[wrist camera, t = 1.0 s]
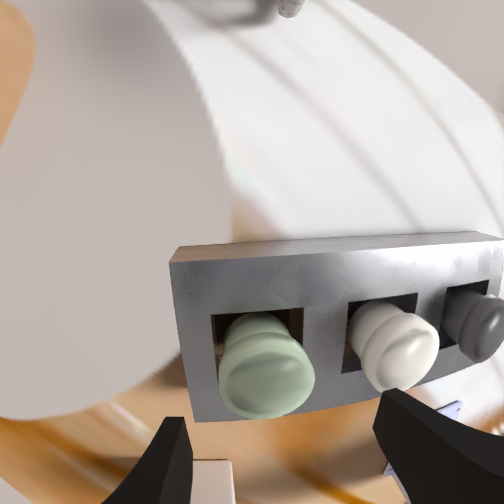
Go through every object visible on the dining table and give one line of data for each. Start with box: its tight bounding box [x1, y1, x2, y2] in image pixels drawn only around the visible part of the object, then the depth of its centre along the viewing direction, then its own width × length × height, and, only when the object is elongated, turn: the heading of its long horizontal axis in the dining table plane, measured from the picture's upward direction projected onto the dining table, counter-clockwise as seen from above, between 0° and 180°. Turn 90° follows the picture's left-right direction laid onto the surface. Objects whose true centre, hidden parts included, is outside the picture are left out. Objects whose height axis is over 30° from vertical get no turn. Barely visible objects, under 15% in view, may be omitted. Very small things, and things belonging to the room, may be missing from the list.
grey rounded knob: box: [439, 285, 504, 363], centre depth 15 cm, size 4×4×4 cm
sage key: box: [219, 312, 315, 419], centre depth 14 cm, size 4×4×4 cm
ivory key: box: [346, 299, 439, 393], centre depth 15 cm, size 4×4×4 cm
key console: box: [169, 231, 504, 422], centre depth 17 cm, size 10×22×4 cm, turn 92°
